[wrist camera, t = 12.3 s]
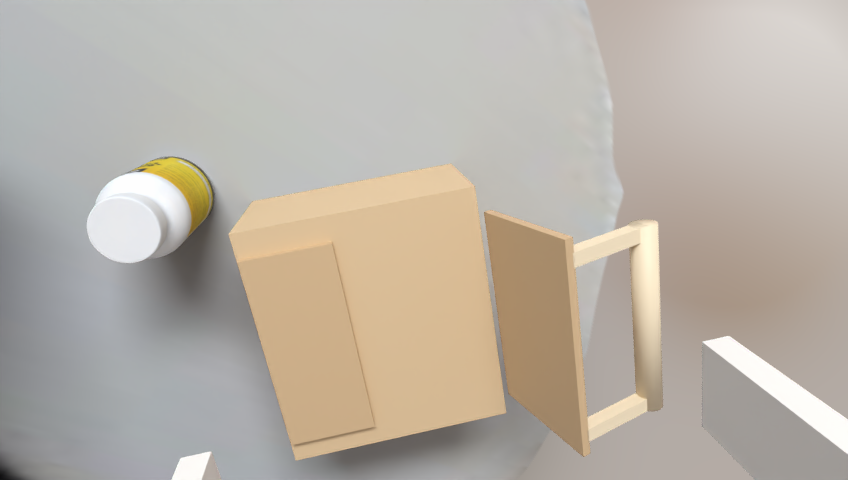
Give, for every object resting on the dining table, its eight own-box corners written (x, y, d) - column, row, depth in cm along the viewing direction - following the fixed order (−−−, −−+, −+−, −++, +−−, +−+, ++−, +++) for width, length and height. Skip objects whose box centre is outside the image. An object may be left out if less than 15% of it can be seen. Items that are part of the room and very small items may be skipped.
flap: (587, 460, 37) (668, 416, 40) (569, 241, 32) (663, 207, 35) (508, 393, 45) (580, 360, 48) (483, 211, 40) (565, 187, 43)
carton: (305, 393, 54) (295, 467, 44) (252, 201, 48) (226, 236, 38) (480, 356, 56) (508, 419, 46) (450, 163, 49) (476, 187, 39)
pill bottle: (191, 142, 46) (141, 166, 35) (230, 210, 48) (194, 252, 37) (121, 174, 46) (49, 207, 35) (163, 240, 48) (107, 291, 37)
